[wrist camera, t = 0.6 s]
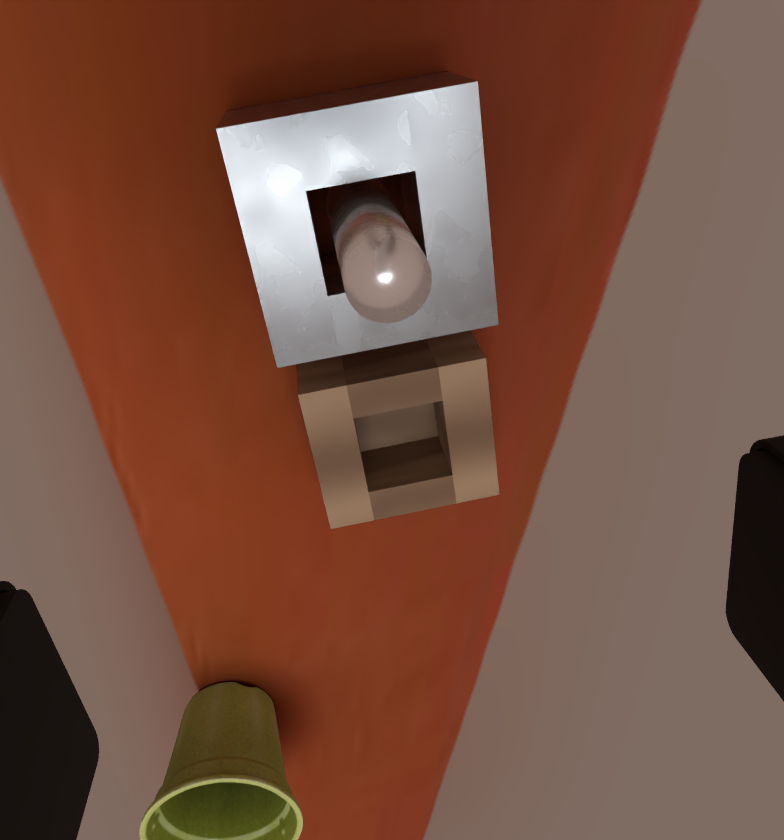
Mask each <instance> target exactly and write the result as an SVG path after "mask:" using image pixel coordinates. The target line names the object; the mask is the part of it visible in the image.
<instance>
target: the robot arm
mask: <svg viewBox="0 0 784 840" xmlns="http://www.w3.org/2000/svg"><path fill="white" fill-rule="evenodd" d="M726 616H727V620H728V623H729V626H730V629H731V631H732V633H733V634H734V636H735V638H736V639H737V640H738V641H739V643H740V644H741V646H742V647H743V648H744V649H745V651H746V652H747V653H748V655H749V656H750V657H751V659H752V660H753V661H754V663H755V664H756V665H757V667H758V668H759V669H760V671H761V672H762V673H763V675H764V676H765V677H766V679H767V680H768V681H769V683H770V684H771V685H772V686H773V688H774V689H775V690H776V692H777V693H778V694H779V695H780V697H781V698H782V700H783V701H784V436H779V437H773V438H768V439H762V440H758V441H756V442H755V443H754V444H753V445H752V447H751V449H750V453H747V454H745V455H743V456H742V457H741V459H740V463H739V470H738V481H737V491H736V503H735V514H734V525H733V535H732V546H731V557H730V568H729V579H728V590H727V601H726ZM98 758H99V743H98V738H97V734H96V731H95V729H94V727H93V725H92V722H91V720H90V718H89V716H88V714H87V712H86V710H85V708H84V706H83V704H82V702H81V699H80V697H79V695H78V693H77V691H76V689H75V687H74V685H73V683H72V681H71V679H70V676H69V674H68V672H67V670H66V668H65V666H64V664H63V662H62V660H61V658H60V655H59V653H58V651H57V649H56V647H55V645H54V643H53V641H52V639H51V637H50V634H49V632H48V630H47V628H46V627H45V624H44V622H43V620H42V618H41V616H40V614H39V611H38V609H37V607H36V605H35V603H34V601H33V599H32V597H31V595H30V594H29V593H28V592H27V591H26V590H22V589H20V590H16V589H15V587H14V586H13V585H12V584H11V583H9V582H6V581H0V840H76V838H77V835H78V831H79V828H80V823H81V820H82V817H83V813H84V810H85V806H86V803H87V799H88V795H89V792H90V788H91V785H92V781H93V777H94V774H95V770H96V766H97V763H98Z"/></svg>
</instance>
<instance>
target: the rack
mask: <svg viewBox="0 0 784 840" xmlns="http://www.w3.org/2000/svg"><path fill="white" fill-rule="evenodd" d="M297 385H298V397H299V401H300V406H301V410H302V414H303V418H304V422H305V426H306V430H307V434H308V438H309V442H310V446H311V450H312V454H313V458H314V462H315V466H316V470H317V474H318V479H319V483H320V487H321V491H322V495H323V499H324V503H325V507H326V511H327V515H328V519H329V523H330V527H331V529H333V528H338V527H343V526H348V525H353V524H358V523H363V522H367V521H372V520H377V519H382V518H387V517H392V516H397V515H402V514H407V513H411V512H416V511H421V510H426V509H431V508H436V507H441V506H446V505H450V504H455V503H460V502H465V501H470V500H475V499H480V498H485V497H489V496H494V495H499V487H498V477H497V467H496V456H495V446H494V436H493V425H492V415H491V405H490V394H489V384H488V374H487V363H486V357H485V355H484V354H483V352H482V350H481V349H480V347H479V345H478V344H477V342H476V340H475V339H474V337H473V335H472V334H471V332H470V330H469V331H464V332H458V333H453V334H448V335H443V336H438V337H433V338H428V339H423V340H418V341H412V342H407V343H402V344H397V345H392V346H387V347H382V348H377V349H371V350H366V351H361V352H356V353H351V354H346V355H341V356H336V357H331V358H325V359H320V360H315V361H310V362H305V363H300V364H297Z"/></svg>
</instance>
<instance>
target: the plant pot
mask: <svg viewBox="0 0 784 840" xmlns="http://www.w3.org/2000/svg"><path fill="white" fill-rule="evenodd" d="M302 826H303V818H302V812H301V809H300V806H299V804H298V803H297V801H296V800H295V798H294V797H293V796H292V792H291V789H290V786H289V784H288V783H287V781H286V776H285V770H284V764H283V757H282V751H281V745H280V739H279V733H278V726H277V720H276V714H275V708H274V704H273V702H272V700H271V698H270V697H269V696H268V695H267V694H266V693H265V692H264V691H263V690H261V689H259V688H258V687H246V686H243V685H240V684H238V683H236V682H225V683H219V684H215V685H212V686H209V687H207V688H205V689H203V690H201V691H199V692H198V693H197V694H195V695H194V696H193V697H192V699H191V701H190V702H189V704H188V706H187V707H186V709H185V712H184V715H183V718H182V721H181V725H180V728H179V732H178V736H177V739H176V743H175V746H174V750H173V753H172V757H171V760H170V763H169V766H168V769H167V773H166V776H165V779H164V782H163V785H162V787H161V788H160V789H159V791H158V793H157V795H156V797H155V800H154V802H153V803H152V804H151V805H150V806H149V808H148V809H147V811H146V813H145V814H144V816H143V818H142V822H141V825H140V831H139V833H140V840H298V838H299V836H300V834H301V831H302Z"/></svg>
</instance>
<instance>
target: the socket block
mask: <svg viewBox="0 0 784 840" xmlns="http://www.w3.org/2000/svg"><path fill="white" fill-rule="evenodd" d="M216 131H217V135H218V139H219V142H220V146H221V150H222V154H223V158H224V162H225V166H226V170H227V174H228V178H229V181H230V185H231V189H232V193H233V197H234V201H235V205H236V209H237V213H238V216H239V220H240V224H241V228H242V232H243V236H244V240H245V244H246V248H247V251H248V255H249V259H250V263H251V267H252V271H253V275H254V279H255V283H256V286H257V290H258V294H259V298H260V302H261V306H262V310H263V314H264V318H265V322H266V325H267V329H268V333H269V337H270V341H271V345H272V349H273V353H274V357H275V360H276V364H277V368H279V367H285V366H290V365H295V364H300V363H305V362H310V361H315V360H320V359H325V358H331V357H336V356H341V355H346V354H351V353H356V352H361V351H366V350H371V349H377V348H382V347H387V346H392V345H397V344H402V343H407V342H412V341H418V340H423V339H428V338H433V337H438V336H443V335H448V334H453V333H458V332H464V331H469V330H474V329H479V328H484V327H489V326H494V325H498V314H497V302H496V290H495V278H494V267H493V255H492V243H491V231H490V220H489V208H488V196H487V184H486V173H485V161H484V149H483V138H482V126H481V114H480V102H479V91H478V81H475V80H472V79H469V78H466V77H463V76H460V75H457V74H454V73H451V72H448V71H444V72H439V73H433V74H428V75H422V76H417V77H411V78H406V79H400V80H395V81H389V82H384V83H378V84H373V85H367V86H362V87H356V88H350V89H345V90H339V91H334V92H328V93H323V94H317V95H312V96H306V97H301V98H295V99H290V100H284V101H279V102H273V103H268V104H262V105H257V106H251V107H245V108H240V109H234V110H229V111H226V113H225V115H224V116H223V118H222V120H221V121H220V123H219V125H218V126H217V128H216ZM395 174H399V179H400V186H401V193H402V200H403V207H404V214H405V221H406V225H407V226H408V228H409V230H410V231H411V233H412V235H413V236H414V238H415V240H416V241H417V243H418V245H419V246H420V248H421V250H422V251H423V253H424V255H425V256H426V258H427V260H428V262H429V265H430V267H431V272H432V285H431V290H430V293H429V296H428V298H427V300H426V301H425V303H424V304H423V306H422V307H421V308H420V309H419V310H418V311H417V312H416V313H415V314H413V315H412V316H410V317H408V318H406V319H404V320H402V321H399V322H394V323H378V322H374V321H371V320H368V319H366V318H365V317H363V316H361V315H360V314H359V313H358V312H357V311H356V310H355V309H354V308H353V307H352V306H351V304H350V302H349V301H348V298H347V296H346V293H345V289H344V285H343V280H342V276H341V271H340V267H339V263H338V258H337V254H336V253H334V254H328V255H323V256H321V253H320V249H319V244H318V239H317V234H316V229H315V224H314V219H313V215H312V210H311V205H310V200H309V195H308V191H309V190H314V189H320V188H325V187H330V186H336V185H341V184H346V183H352V182H357V181H363V180H368V179H373V178H379V177H384V176H389V175H395Z"/></svg>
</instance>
